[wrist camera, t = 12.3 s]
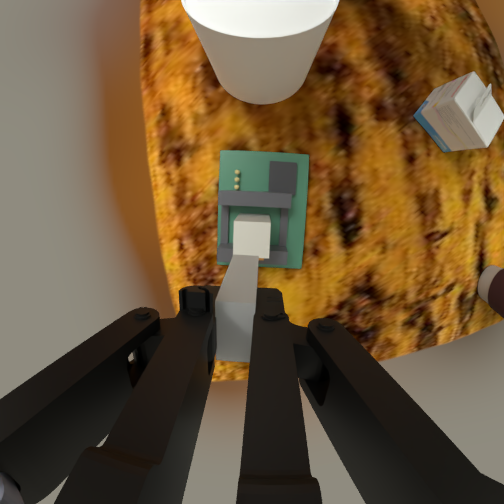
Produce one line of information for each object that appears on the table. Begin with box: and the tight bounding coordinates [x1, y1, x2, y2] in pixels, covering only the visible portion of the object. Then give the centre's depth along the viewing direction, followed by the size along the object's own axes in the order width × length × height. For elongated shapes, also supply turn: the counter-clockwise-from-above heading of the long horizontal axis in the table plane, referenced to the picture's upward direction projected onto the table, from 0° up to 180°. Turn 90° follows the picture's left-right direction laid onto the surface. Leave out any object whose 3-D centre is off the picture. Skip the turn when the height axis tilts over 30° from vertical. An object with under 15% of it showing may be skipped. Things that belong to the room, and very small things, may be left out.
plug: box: [233, 213, 271, 258], centre depth 34 cm, size 4×4×8 cm
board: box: [217, 150, 309, 269], centre depth 37 cm, size 16×12×5 cm
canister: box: [181, 0, 339, 104], centre depth 24 cm, size 14×14×20 cm
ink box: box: [413, 71, 504, 152], centre depth 28 cm, size 9×8×13 cm
